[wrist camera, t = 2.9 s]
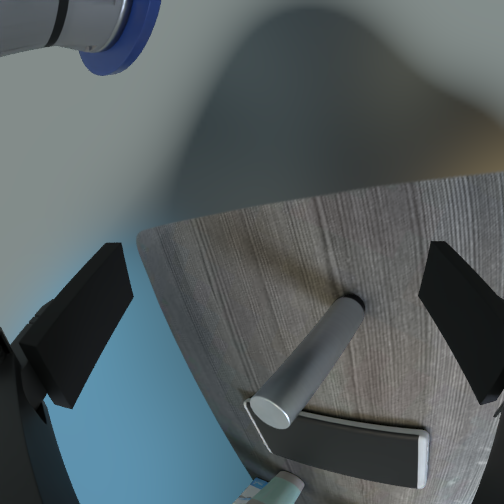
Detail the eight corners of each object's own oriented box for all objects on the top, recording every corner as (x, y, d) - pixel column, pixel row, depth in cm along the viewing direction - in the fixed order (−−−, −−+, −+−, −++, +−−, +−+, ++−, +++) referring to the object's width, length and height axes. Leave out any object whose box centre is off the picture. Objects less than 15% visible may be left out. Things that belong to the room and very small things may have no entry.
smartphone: (427, 481, 29) (423, 491, 28) (274, 446, 48) (268, 453, 47) (430, 426, 26) (426, 439, 25) (247, 394, 45) (240, 402, 44)
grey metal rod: (331, 297, 28) (241, 397, 19) (357, 286, 26) (270, 395, 17) (348, 323, 28) (267, 429, 19) (374, 314, 26) (298, 430, 17)
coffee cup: (266, 465, 54) (229, 506, 46) (293, 467, 48) (253, 515, 40) (291, 488, 54) (257, 528, 45) (318, 491, 47) (283, 537, 39)
